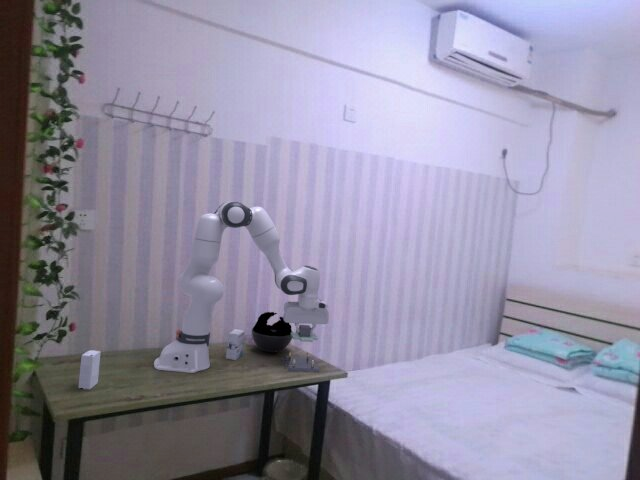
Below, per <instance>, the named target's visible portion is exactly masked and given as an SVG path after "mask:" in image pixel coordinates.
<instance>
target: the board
mask: <svg viewBox="0 0 640 480" xmlns="http://www.w3.org/2000/svg"><path fill="white" fill-rule="evenodd" d="M298 328H300V333H297V332H296V331H295V332H293V331H292V332H291V336H292V340H299V341H300V342H306V343H313V342H314V341H318V340H319V337H318V336H317V335H316V334H315V333H314V332H313V333H311V328H312V326H310V325H309V324H299V325H298Z"/></svg>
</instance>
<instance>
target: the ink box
mask: <svg viewBox="0 0 640 480" xmlns="http://www.w3.org/2000/svg"><path fill="white" fill-rule="evenodd" d="M245 332H246V331H245V330H243V329H238V328H234V329H233V330H232V331H230V332H229V333H228V337H227V345H226V352H225V359H227V360H231V361H232V360H233V361H236V360H237V359H239V358H240V357H241V356H243V346H244V339H245Z"/></svg>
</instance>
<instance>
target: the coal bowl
mask: <svg viewBox="0 0 640 480" xmlns="http://www.w3.org/2000/svg"><path fill="white" fill-rule="evenodd" d="M277 314H278V313H277V312H274V311H267V312H264V313H261V314H260V315H259V316H258V317H257V321H256V322H255V324H254V326H253V327H252V328H251V337H252V340H253V342H254V344H255V345H256V346H257V347H258V348H259V349H261V350H262V351H264V352H267V353H277V352H280V351H282V350H284V349H286V348H287V347H288V346H289V345H290V343H291V341H292V340H293V338H292V336H291V332H293V330H292V325H291V323H286V322H285V321H284V320H283V316H279V320H277V321H276V322H274V323H273V324H272V325H271V324H268V320H270V319H271V318H272V317H274V316H275V315H277Z"/></svg>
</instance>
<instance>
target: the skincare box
mask: <svg viewBox="0 0 640 480" xmlns="http://www.w3.org/2000/svg"><path fill="white" fill-rule="evenodd" d="M80 359H81V360H80V367H79V378H78V389H80V388H83V389H82V390H91V389H92V388H94V387H95V386H96V385H97V384H98V383H99V374H100V372H99V371H100V363H101V351H100V350H93V349H92V350H91V349H90V350H88V351H86V352H84V353H83V354H81V358H80Z"/></svg>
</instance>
